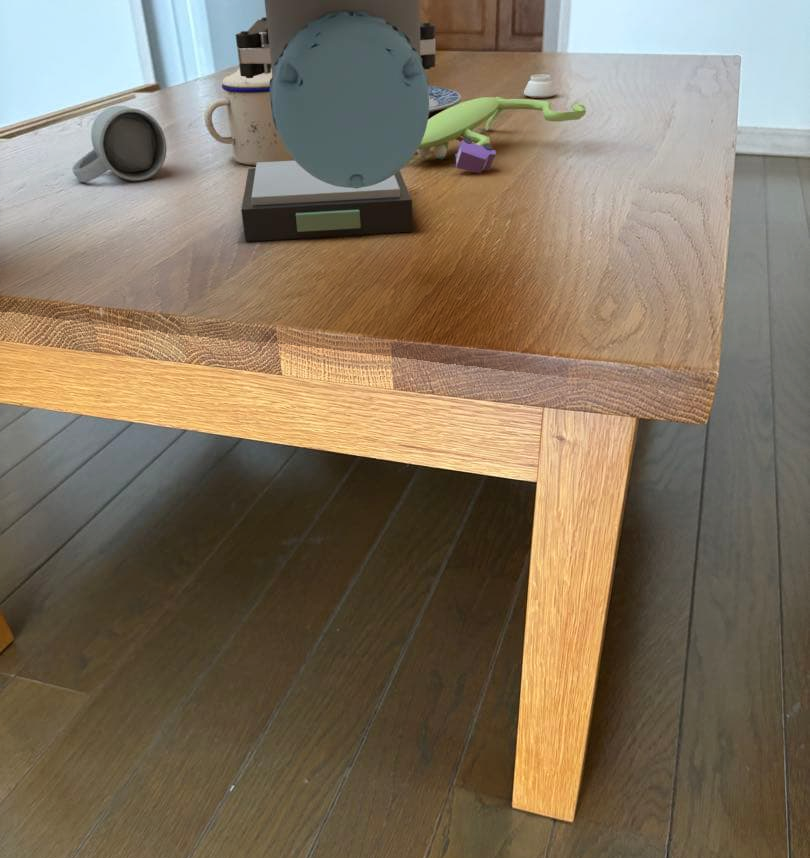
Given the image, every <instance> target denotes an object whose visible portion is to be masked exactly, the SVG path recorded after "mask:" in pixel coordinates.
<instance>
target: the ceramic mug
mask: <svg viewBox="0 0 810 858" xmlns="http://www.w3.org/2000/svg"><path fill="white" fill-rule="evenodd" d="M90 138H91V144H92V147H93V148H92V150H90V151H89V152H88V153H86V154H85V155H83V156H81V158H80V159H78V160H77V161H76V162H75V163H74V164H73V166H72V169H71V170H72V173H73V175H74V176H75V178H76V179H77V180H78V182H80V183H86V182H89V181H92V180H94V179H96V178H98V177H100V176H101V175H103V174H105V173H106V172H107V171H111V172H112V173H113V174H114V175H116V176H118V177H119V178H122V179H123V180H126V181H132V182H141V181H145V180H148V179H150V178H152V177H154V176H155V175H156V174H158V172H160V170H161V169H162V167H163V165H164V163H165V161H166V157H167V150H168V149H167V148H168V147H167V141H166V136H165V133H164V131H163V128H162V127H161V125H160V124H159V122H158V121H157V119H155V117H153V116H152V115H151V114H149V113H148V112H146V111H144V110H141V109H139V108H134V107H129V106H126V105H113V106H109V107H107V108H105V109H104V110H102V111H101V112H100V113H99V114H98V115H97V116H96V117H95V118H94V120H93V123H92V126H91V131H90Z"/></svg>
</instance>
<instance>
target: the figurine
mask: <svg viewBox="0 0 810 858" xmlns="http://www.w3.org/2000/svg"><path fill="white" fill-rule="evenodd" d="M503 110H531V111H532V110H533V111H541V112H542V116H543V118H544V120H546V121H548V122H557V123H559V122H569V121H577V120H580V119H581V118H583V117H584V116H585V115H586V113H587V111H586V106H585V105H584V104H580V103H575V104H574V105H573V106H572V110H569V111H556V110H555V111H554V110H552V106H551V103H550V102H549V101H548V100H542V99H541V100H540V99H532V98H531V99H530V98H505V97H500V96H495V97H492V96H491V97H490V96H488V97H487V96H486V97H485V96H483V97H478V98H473V99H469V100H466V101H462V102H459V103H457V104H455V105H453V106H451V107H448V108H445V109H443V110H441V111H440V112H438V113H436V114H435V115H433V116H431V117H430V118H428V122H427V127H426V131H425V134H424V137H423V139H422V141H421V144H420V146H419V148H418V149H417V151H416V153H417V155H418V156H420V157H421V158H425V157H426V156H428V155H429V154H430V151H431V148H433V155H434V156H435V158H437V159H439V160H443V159H444V160H445V159H446V156H447V153H448V148H449V145H450V142H451V141H454V140H456V141H459V142H460V144H459V147H458V149H457V153H455V155H454V156H455V166H456V167H455V168H456V169H459V170H463V171H467V172H471V173H477V174H481V173H482V172H483V171H490V169H491V167H492V164H493V162H494V159H495V157H496V154H497V150H495V149H493V145H492V144H491V139H490V137H489V136H486V135H484V134H481V133H479V132H475V131H473V130H475V129H476V128H478V127H480V126H481V125H482V124H484V123H485V122H486V124H485V131H488V130H489V128H490V126H491V124H492V123H493V121H494V120H495V119H496V117H497V116H498V115H500V113H501V112H502V111H503Z"/></svg>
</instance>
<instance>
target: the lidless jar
mask: <svg viewBox="0 0 810 858" xmlns="http://www.w3.org/2000/svg"><path fill="white" fill-rule="evenodd" d="M556 93H557V91H556V87H555V85H554V82H553V81H552V80H551V75H550V74H541V73H540V74H532V75H531V76H530V80H528V82H527V84H526V86H525V88H524V90H523V95H524V96H526V97H527V98H531V99H547V98H550V97H553V96H555V95H556Z"/></svg>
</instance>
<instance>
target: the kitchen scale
mask: <svg viewBox="0 0 810 858" xmlns="http://www.w3.org/2000/svg"><path fill="white" fill-rule="evenodd" d="M247 170H248V171H247V176H246V181H245V185H244V193H243V198H242V203H241V208H240V209H241V210H240V211H241V217H242V225H243V233H244V240H245V241H244V242H245V243H247V242H248V243H249V242H265V241H266V242H267V241H281V240H283V241H284V240H298V239H313V238H333V237H348V236H350V237H351V236H366V235H383V234H396V233H397V234H398V233H400V234H401V233H412V232H413V231H414V230H413V199H412V197H411V195H410V192H409V189H408V187H407V184H406V182H405V180H404V178H403V174H402V172H401V170H400V171H398V172H397V173H396V174H394V175H393V176H391V177H390V178H388V179H386V180H384V181H382V182H380V183H377V184H375V185H371V186H367V187H361V188H358V189H355V188H346V187H338V186H334V185H331V184H328V183H325V182H323V181H321V180H319V179H317V178H315V177H314V176H312V175H311V174H309V173H308V172H307V171H305V170H304V169H303V168H302V167H301V166H300V165H299V164H298V163H297V162H296V161H295V160H294V161H277V162H258V163H256V165H255V167H254V168H248V169H247Z"/></svg>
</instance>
